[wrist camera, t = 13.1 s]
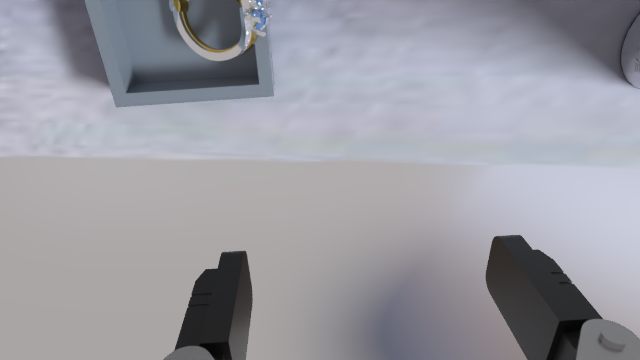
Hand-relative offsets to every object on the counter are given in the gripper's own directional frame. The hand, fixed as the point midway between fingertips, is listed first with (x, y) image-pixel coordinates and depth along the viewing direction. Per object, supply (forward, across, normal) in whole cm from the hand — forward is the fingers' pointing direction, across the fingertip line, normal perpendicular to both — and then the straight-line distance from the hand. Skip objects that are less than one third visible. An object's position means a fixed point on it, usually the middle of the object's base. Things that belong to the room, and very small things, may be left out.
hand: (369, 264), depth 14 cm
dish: (+24, +10, -6) cm, 27 cm away
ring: (+23, +11, -6) cm, 26 cm away
